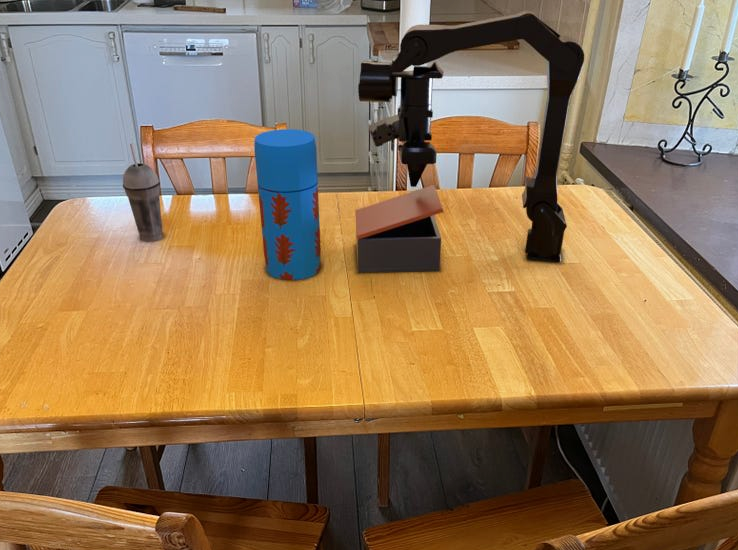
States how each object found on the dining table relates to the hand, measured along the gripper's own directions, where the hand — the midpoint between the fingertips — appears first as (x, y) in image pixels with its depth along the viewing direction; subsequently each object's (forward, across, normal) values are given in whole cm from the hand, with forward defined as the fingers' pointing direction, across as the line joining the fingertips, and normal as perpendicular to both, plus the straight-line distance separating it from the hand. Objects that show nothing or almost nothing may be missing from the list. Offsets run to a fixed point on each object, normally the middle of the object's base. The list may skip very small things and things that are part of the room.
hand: (413, 186), depth 134 cm
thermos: (+13, +9, -24) cm, 28 cm away
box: (+13, +5, -3) cm, 14 cm away
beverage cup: (+13, -7, -55) cm, 57 cm away
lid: (+4, +5, -3) cm, 7 cm away
